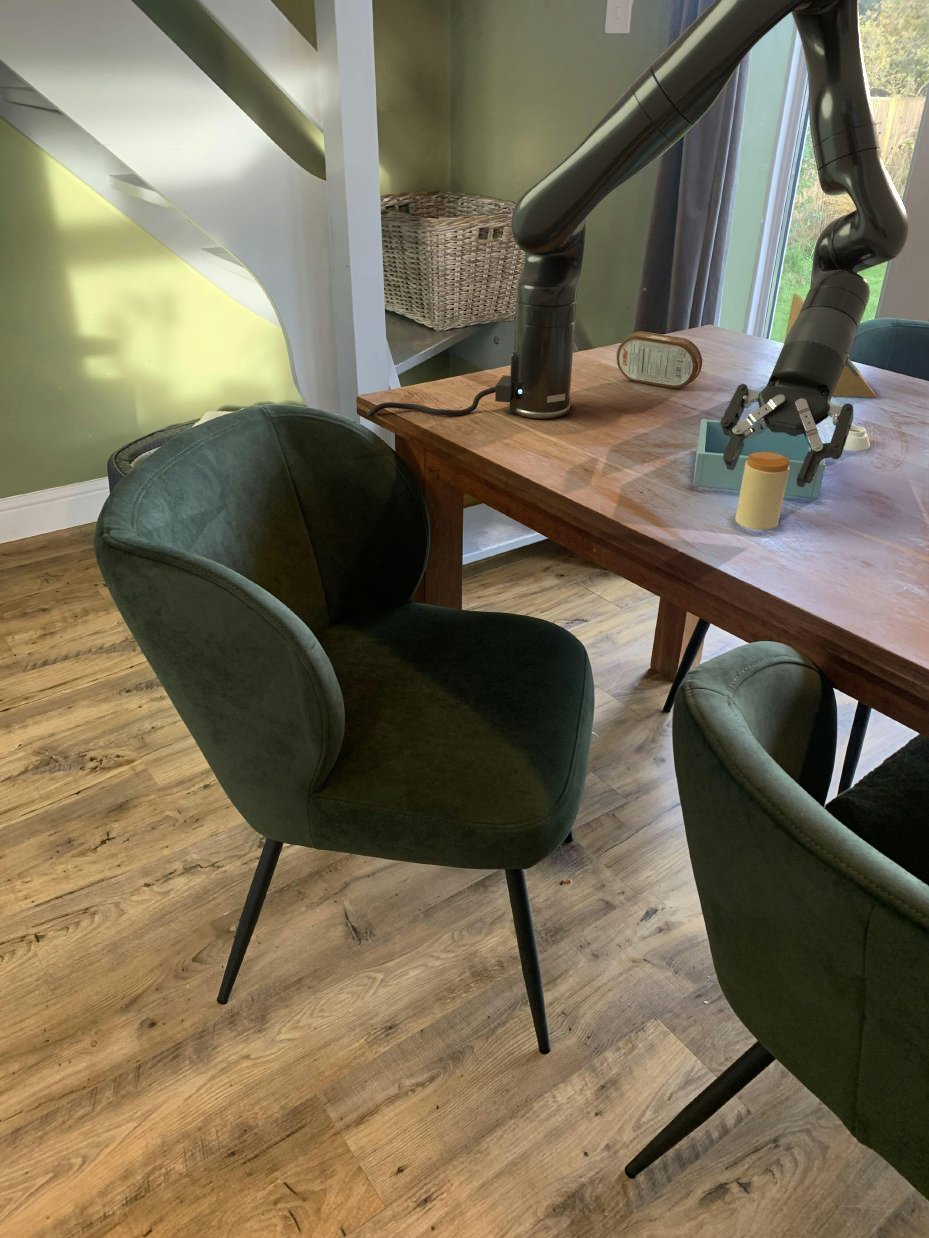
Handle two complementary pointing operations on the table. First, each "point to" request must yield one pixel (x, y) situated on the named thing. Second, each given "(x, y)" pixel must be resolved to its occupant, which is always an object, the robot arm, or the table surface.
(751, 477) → the lidded cream canister
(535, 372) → the robot arm
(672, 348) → the tin
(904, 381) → the table surface
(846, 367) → the sandwich container
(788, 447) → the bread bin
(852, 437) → the cream truncated cone
